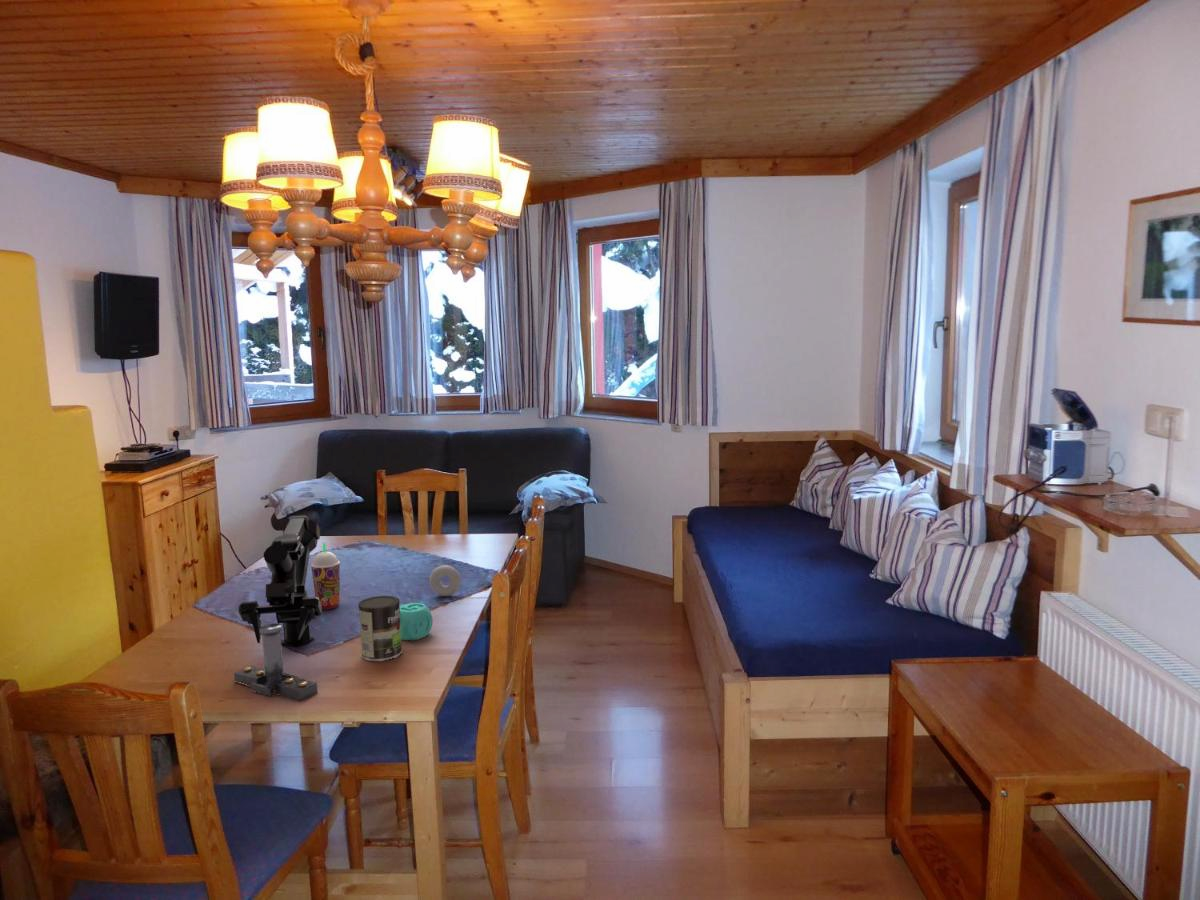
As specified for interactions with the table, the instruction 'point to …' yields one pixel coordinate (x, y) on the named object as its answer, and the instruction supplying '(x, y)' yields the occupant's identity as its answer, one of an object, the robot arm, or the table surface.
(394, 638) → the coffee can
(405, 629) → the teal rolled towel
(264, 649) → the link pin
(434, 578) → the donut
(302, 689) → the riveted post bracket
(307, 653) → the table surface
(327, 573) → the smoothie
